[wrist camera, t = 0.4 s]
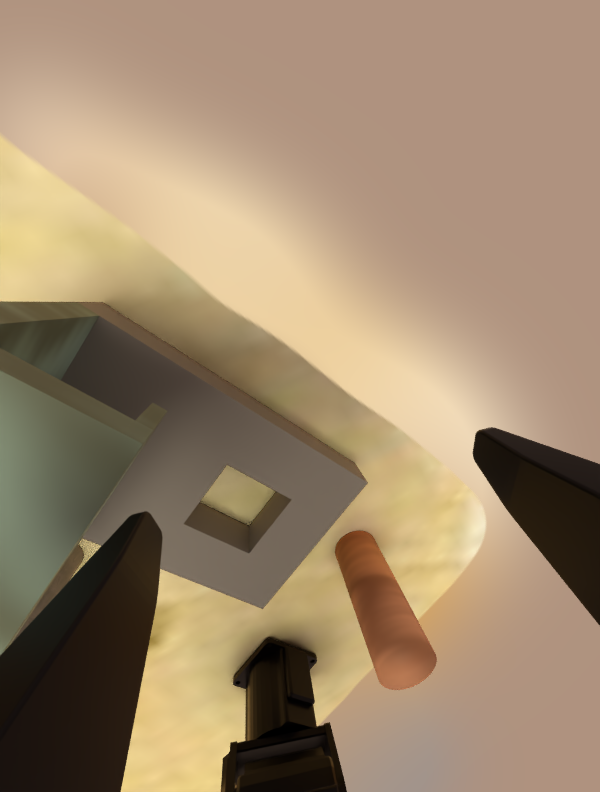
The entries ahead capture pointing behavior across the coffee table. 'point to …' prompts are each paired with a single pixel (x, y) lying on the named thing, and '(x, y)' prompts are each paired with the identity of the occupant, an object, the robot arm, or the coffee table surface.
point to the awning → (51, 451)
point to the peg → (384, 614)
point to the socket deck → (209, 464)
